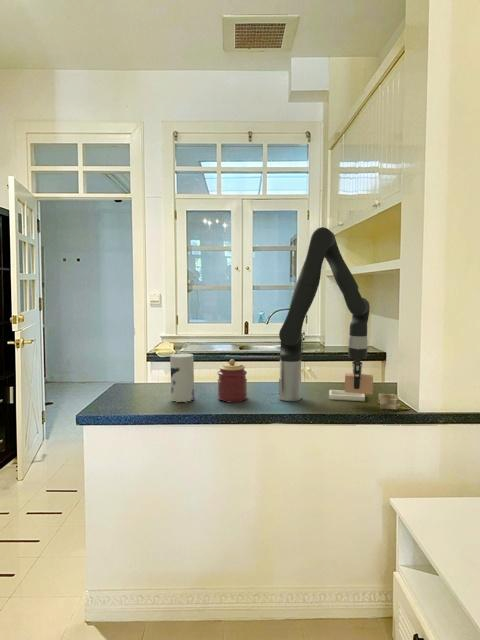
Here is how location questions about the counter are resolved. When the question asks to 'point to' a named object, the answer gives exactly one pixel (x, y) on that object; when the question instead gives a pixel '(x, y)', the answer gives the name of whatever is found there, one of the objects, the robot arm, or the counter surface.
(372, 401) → the counter surface
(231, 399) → the canister
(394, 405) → the dock
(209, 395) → the counter surface
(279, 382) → the robot arm
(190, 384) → the container
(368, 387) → the block
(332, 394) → the tray
